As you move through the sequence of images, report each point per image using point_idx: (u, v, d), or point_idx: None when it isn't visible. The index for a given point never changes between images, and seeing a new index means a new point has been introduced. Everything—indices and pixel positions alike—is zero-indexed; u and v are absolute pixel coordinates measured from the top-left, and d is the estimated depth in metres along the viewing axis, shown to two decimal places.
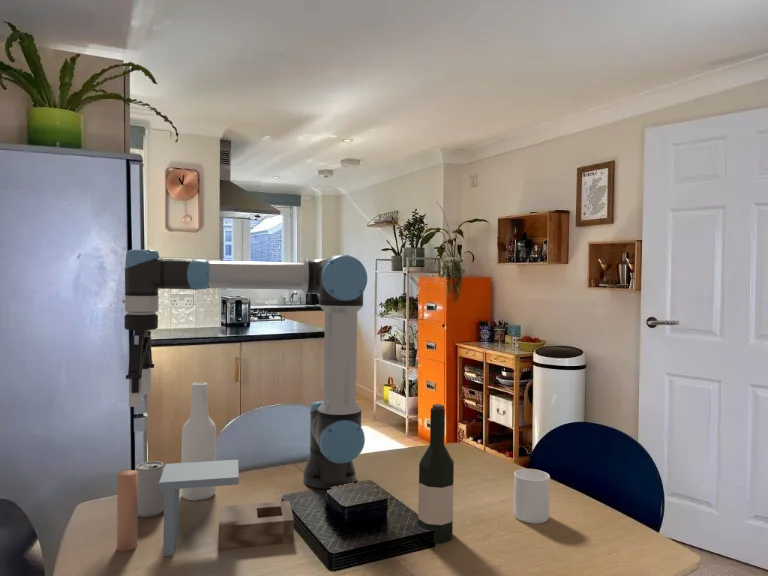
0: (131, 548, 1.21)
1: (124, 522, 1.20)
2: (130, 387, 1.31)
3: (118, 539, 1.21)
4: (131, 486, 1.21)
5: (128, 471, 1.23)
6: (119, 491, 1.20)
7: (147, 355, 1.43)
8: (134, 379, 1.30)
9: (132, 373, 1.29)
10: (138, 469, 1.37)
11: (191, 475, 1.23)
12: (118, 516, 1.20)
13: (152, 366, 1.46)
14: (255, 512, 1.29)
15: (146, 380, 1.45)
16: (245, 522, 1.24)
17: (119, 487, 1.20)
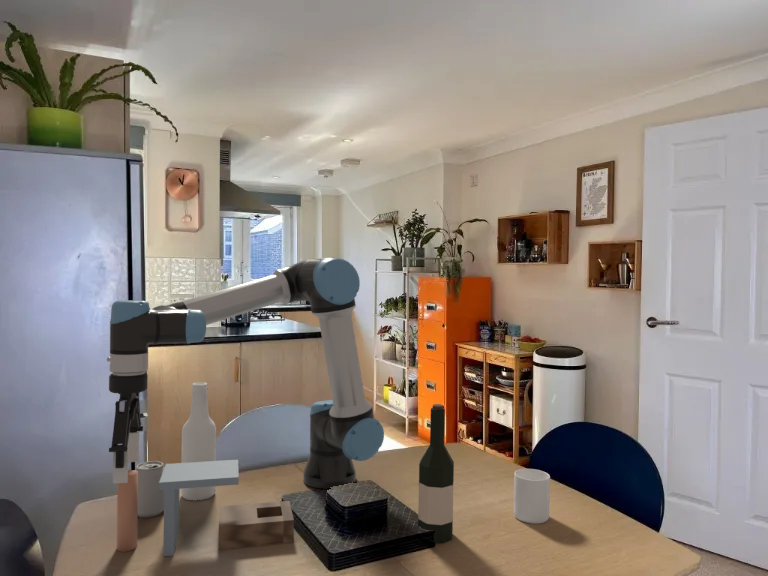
0: (131, 548, 1.21)
1: (124, 522, 1.20)
2: (114, 461, 1.14)
3: (118, 539, 1.21)
4: (131, 486, 1.21)
5: (128, 471, 1.23)
6: (119, 491, 1.20)
7: (135, 418, 1.26)
8: (118, 452, 1.13)
9: (116, 446, 1.12)
10: (138, 469, 1.37)
11: (191, 475, 1.23)
12: (118, 516, 1.20)
13: (141, 429, 1.29)
14: (255, 512, 1.29)
15: (133, 445, 1.28)
16: (245, 522, 1.24)
17: (119, 487, 1.20)
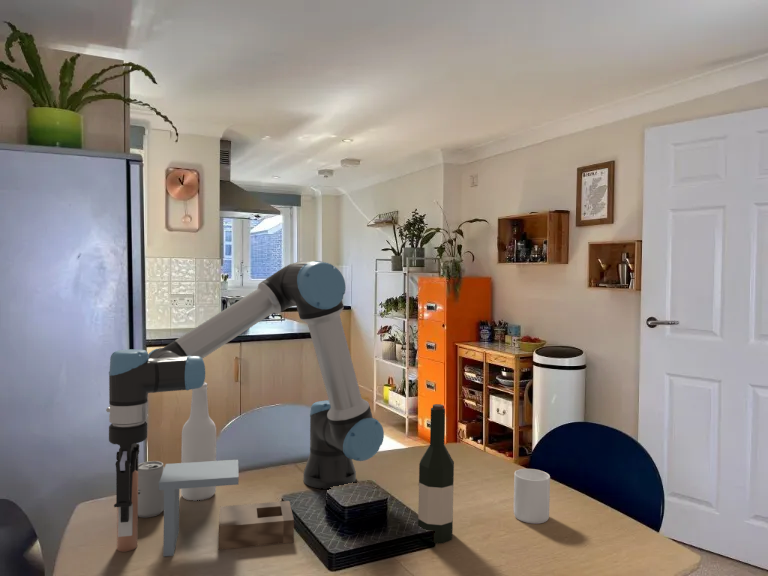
0: (131, 548, 1.21)
1: None
2: (119, 515, 1.19)
3: (118, 539, 1.21)
4: None
5: None
6: None
7: None
8: (123, 507, 1.18)
9: (121, 502, 1.17)
10: (138, 469, 1.37)
11: (191, 475, 1.23)
12: None
13: (138, 492, 1.25)
14: (255, 512, 1.29)
15: None
16: (245, 522, 1.24)
17: None
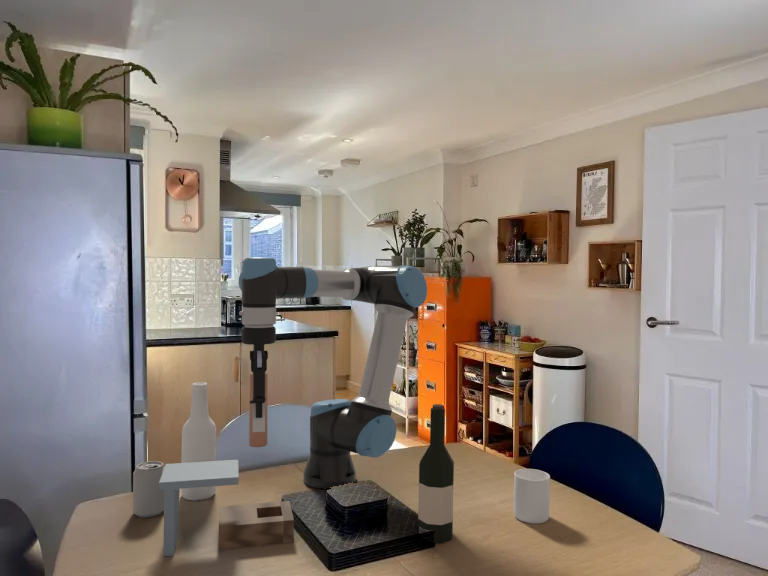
0: (263, 444, 1.28)
1: None
2: (253, 412, 1.26)
3: (251, 436, 1.27)
4: None
5: None
6: (252, 390, 1.27)
7: None
8: (258, 403, 1.25)
9: (257, 398, 1.23)
10: (138, 469, 1.37)
11: (191, 475, 1.23)
12: (251, 414, 1.27)
13: None
14: (255, 512, 1.29)
15: None
16: (245, 522, 1.24)
17: (252, 386, 1.27)
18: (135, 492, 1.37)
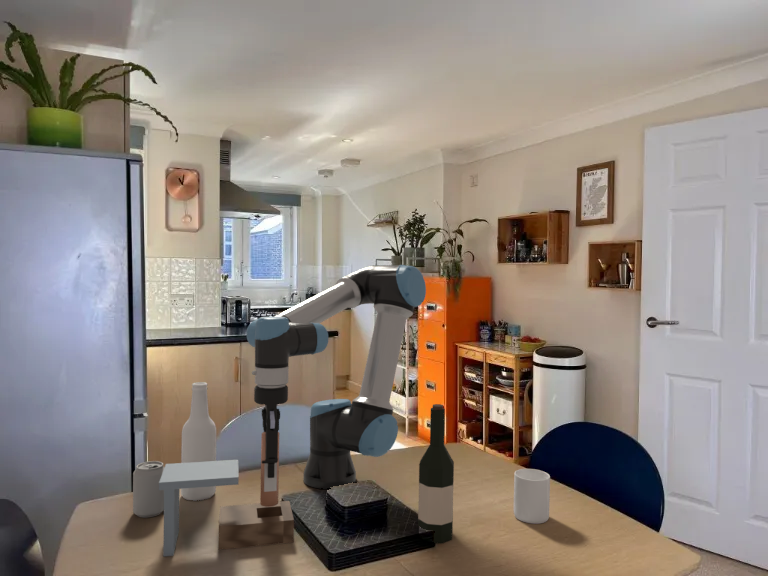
0: (274, 503, 1.28)
1: None
2: (265, 471, 1.27)
3: (262, 495, 1.28)
4: None
5: None
6: (264, 449, 1.28)
7: None
8: (270, 464, 1.26)
9: (270, 458, 1.24)
10: (138, 469, 1.37)
11: (191, 475, 1.23)
12: (263, 473, 1.28)
13: None
14: (255, 512, 1.29)
15: None
16: (245, 522, 1.24)
17: (264, 446, 1.28)
18: (135, 492, 1.37)
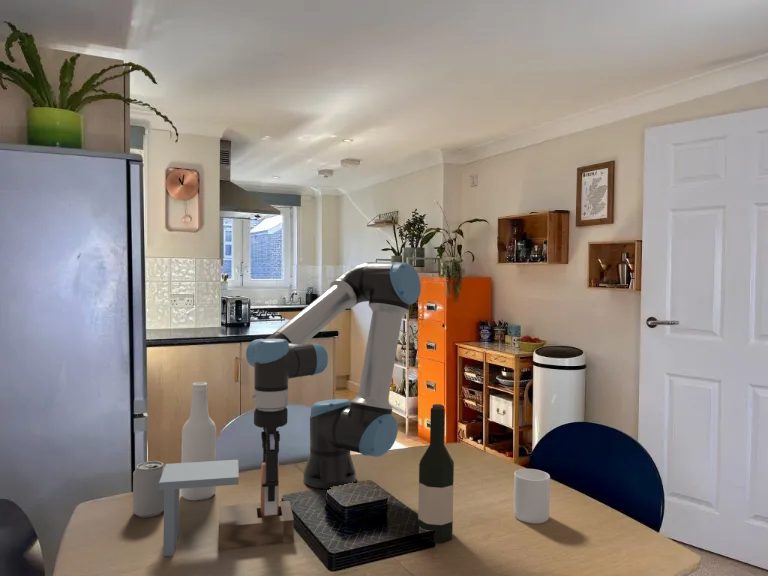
0: None
1: None
2: (265, 495, 1.24)
3: None
4: None
5: None
6: (264, 481, 1.28)
7: None
8: (271, 487, 1.23)
9: (270, 482, 1.22)
10: (138, 469, 1.37)
11: (191, 475, 1.23)
12: (262, 504, 1.28)
13: None
14: (255, 512, 1.29)
15: None
16: (245, 522, 1.24)
17: (264, 477, 1.28)
18: (135, 492, 1.37)
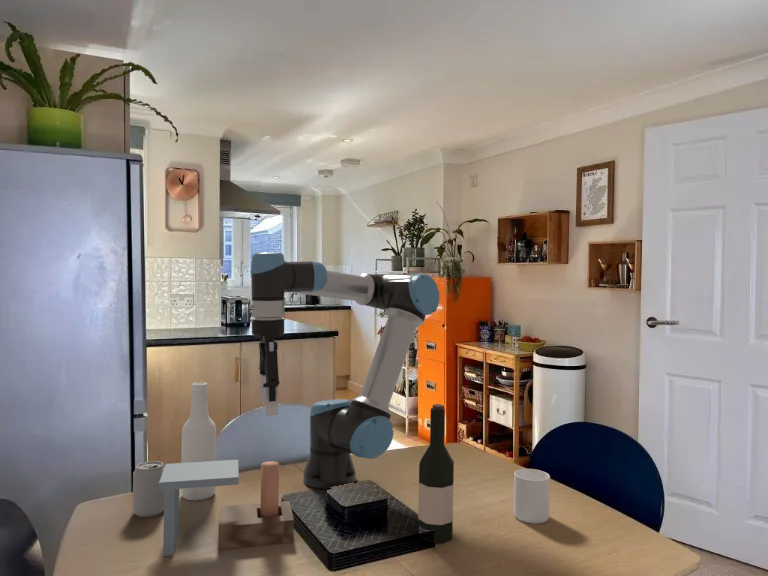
0: None
1: (269, 510, 1.28)
2: (266, 395, 1.27)
3: None
4: (275, 476, 1.28)
5: (269, 462, 1.31)
6: (264, 481, 1.28)
7: None
8: (272, 387, 1.26)
9: (271, 381, 1.24)
10: (138, 469, 1.37)
11: (191, 475, 1.23)
12: (262, 504, 1.28)
13: None
14: (255, 512, 1.29)
15: None
16: (245, 522, 1.24)
17: (264, 477, 1.28)
18: (135, 492, 1.37)
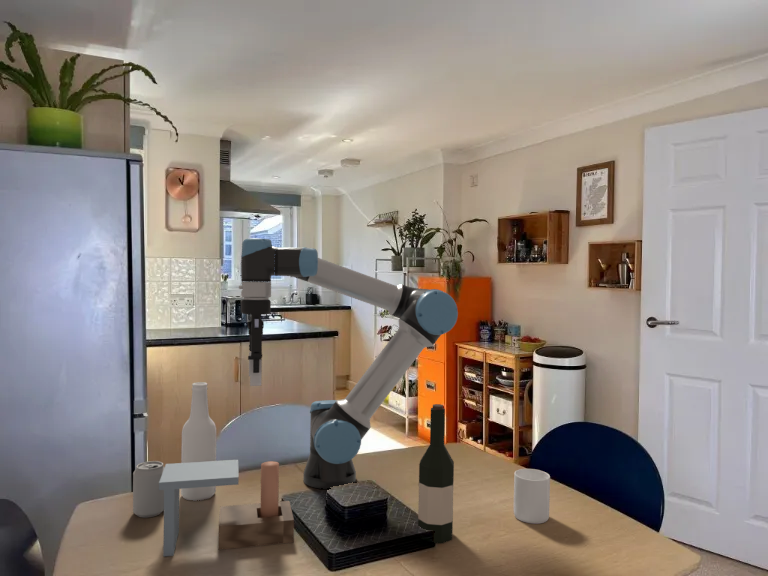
0: None
1: (269, 510, 1.28)
2: (251, 367, 1.39)
3: None
4: (275, 476, 1.28)
5: (269, 462, 1.31)
6: (264, 481, 1.28)
7: None
8: (256, 360, 1.38)
9: (255, 354, 1.37)
10: (138, 469, 1.37)
11: (191, 475, 1.23)
12: (262, 504, 1.28)
13: None
14: (255, 512, 1.29)
15: None
16: (245, 522, 1.24)
17: (264, 477, 1.28)
18: (135, 492, 1.37)
